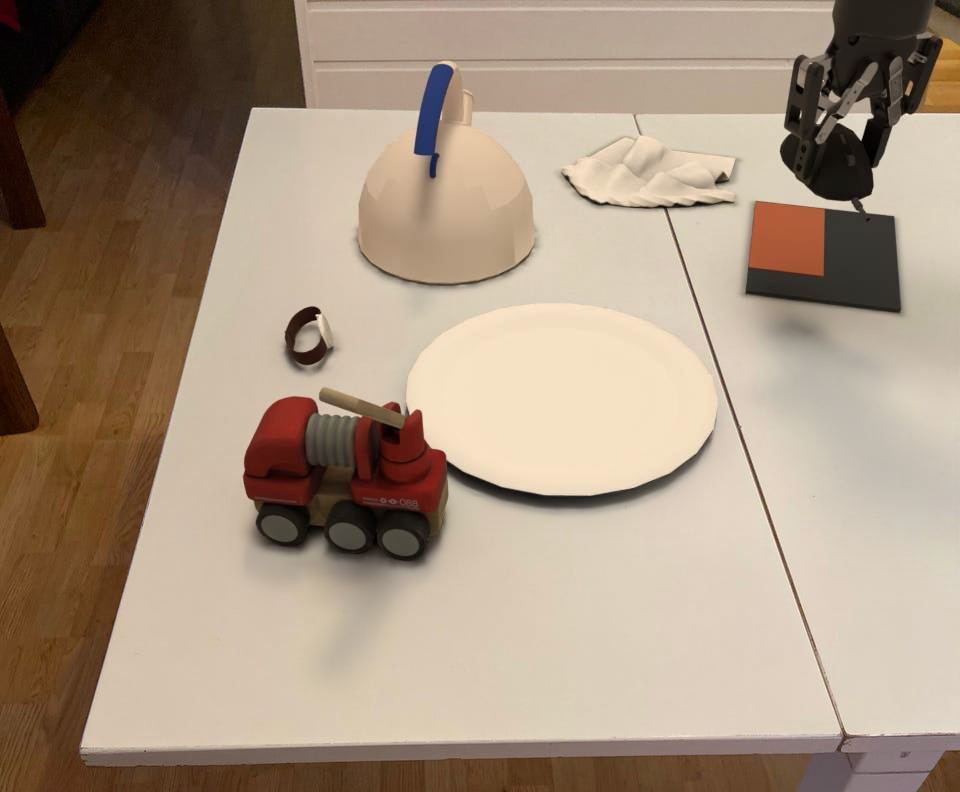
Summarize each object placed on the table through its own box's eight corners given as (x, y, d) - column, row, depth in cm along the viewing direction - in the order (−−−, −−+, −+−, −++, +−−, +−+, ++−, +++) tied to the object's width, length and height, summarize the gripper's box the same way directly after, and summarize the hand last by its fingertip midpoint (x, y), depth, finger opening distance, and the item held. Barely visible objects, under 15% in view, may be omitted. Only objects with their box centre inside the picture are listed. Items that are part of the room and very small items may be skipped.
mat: (893, 219, 113) (894, 214, 112) (900, 312, 101) (901, 308, 100) (755, 203, 115) (756, 199, 115) (745, 293, 103) (746, 288, 102)
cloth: (538, 175, 120) (539, 155, 118) (658, 124, 129) (660, 105, 127) (659, 239, 110) (662, 218, 108) (780, 179, 119) (785, 159, 117)
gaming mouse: (833, 225, 83) (847, 179, 80) (767, 149, 92) (777, 104, 89) (900, 218, 84) (917, 172, 81) (828, 143, 93) (840, 98, 90)
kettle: (546, 201, 115) (556, 32, 101) (520, 295, 103) (527, 117, 89) (382, 186, 118) (369, 20, 104) (337, 276, 105) (315, 100, 91)
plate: (366, 351, 96) (364, 336, 95) (626, 291, 103) (628, 277, 102) (473, 545, 79) (473, 530, 78) (776, 458, 86) (781, 443, 85)
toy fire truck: (280, 475, 85) (241, 293, 71) (454, 495, 83) (449, 313, 69) (238, 568, 78) (186, 386, 64) (427, 592, 76) (415, 410, 62)
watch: (335, 368, 94) (330, 336, 92) (286, 372, 94) (280, 340, 91) (333, 324, 99) (328, 292, 96) (287, 327, 99) (281, 295, 96)
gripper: (855, -14, 70) (797, 209, 83) (1002, -44, 74) (925, 174, 87) (791, -45, 74) (746, 172, 87) (934, -71, 78) (870, 140, 91)
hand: (835, 172), depth 87 cm, fingers closed on gaming mouse, 6 cm apart
